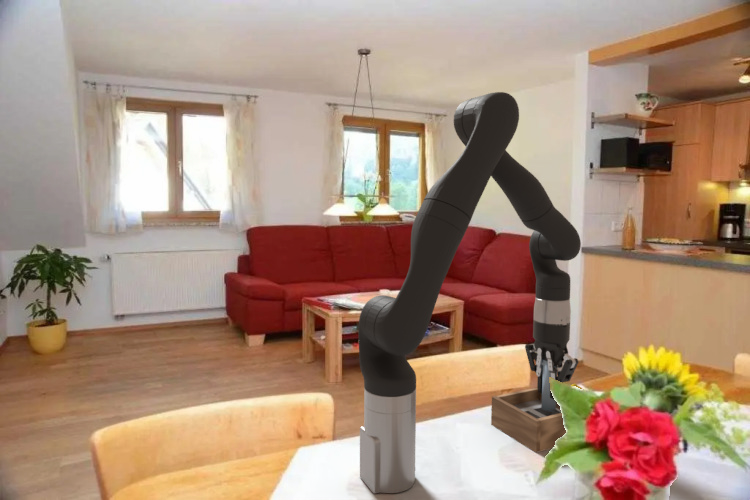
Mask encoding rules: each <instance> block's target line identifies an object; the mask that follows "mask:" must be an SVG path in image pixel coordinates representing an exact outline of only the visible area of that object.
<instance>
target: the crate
mask: <svg viewBox="0 0 750 500" xmlns="http://www.w3.org/2000/svg"><path fill="white" fill-rule="evenodd" d="M541 406H542V394H541V393H539V392H538V388H537V386H536V387H533V388H526V389H522V390H518V391H512V392H507V393H504V394H499V395H494V396H491V412H490V413H491V417H490V419H491V420H490V425H491V426H493V427H494V428H496V429H498V430H499V431H501V432H502V433H504V434H505V435H507V436H509V437H510V438H512V439H514V440H515V441H516V442H518V443H519V444H522V445H523V446H525V447H526V448H528V449H530V450H531V451H533V452H534V453H536V454H537V453H540V452H544V451H547V450H550V449H553V448H552V447H554V445H555V441H556V440H557V439H558V438H560V437H562V436H563V435H564V434H565V433H566V430H565V428H564V425H563V418H562V413H561V410H560V406H559V405H558V404H557V402H556V410H555V411H552V412H549V411H545V410H543V409H542V408H541Z"/></svg>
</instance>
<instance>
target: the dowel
mask: <svg viewBox="0 0 750 500" xmlns="http://www.w3.org/2000/svg"><path fill="white" fill-rule="evenodd" d="M555 367H557V366H554V368H555ZM556 376H558V374H557V372H556ZM549 377H551V373H550V372H549V370H548V362H547V361H545V360H543V377H542V406H541V408H542V409H543V410H545V411H549V412H552V411H555V410H556V401H555V400H554V399H552V398H550V383H549Z"/></svg>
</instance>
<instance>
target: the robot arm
mask: <svg viewBox="0 0 750 500" xmlns="http://www.w3.org/2000/svg"><path fill="white" fill-rule="evenodd" d="M519 120H520V109H519V105H518V102H517V101H516V98H515V97H514V96H513V95H511V94H510V93H508V92H504V91H498V92H497V91H496V92H490V93H489V92H488V93H486V94H482V95H479V96H475V97H472V98H469V99H467V100H465V101H462V102H461V103H460V104H459V105H458V106H457V108H456V109H455V110H454V114H453V127H454V131H455V132H456V135H457V137H458V138H459V140H460V141H461V143H462V144H463V146H465V147H464V149H463V151H462V152H461V154H460V156H458V158H457V159H456V160H455V161H454V163H453V164H451V166H450V167H449V168H448V169H447V170H446V171H445V172H444V173H443V174H442V175H441V176H440V177H439V178H438V179H437V180H436V181H435V183H433V185H432V186H431V187H430V188H429V190H428V192H427V193H426V195H425V197H424V198H423V201H422V203H421V205H420V207H419V209H418V212H417V214H416V216H415V218H414V221H413V223H412V226H411V227H412V228H411V231H410V232H411V233H410V234H411V235H410V263H409V267H408V271H407V274H406V277H405V279H404V281H403V283H402V285H401V288H400V290H399V292H398V294H397V295H396V297H393V296H389V295H383V294H382V295H376V296H374V297H372V298H370V299H369V300H367V302H366V303H365V304H364V306H363V307H362V309H361V312H360V315H359V320H358V327H357V328H358V329H357V331H358V332H357V333H358V355H359V357H358V358H359V368H360V372H361V374H362V377H363V384H364V385H363V387H364V388H363V391H364V393H363V396H364V397H363V398H364V401H363V403H364V404H363V409H364V411H363V412H364V413H363V415H364V416H363V420H364V421H363V425H362V426H360V428H359V478H360V479H361V480H362V481H363V482H364V483H365V485H366V486H367V487H368V488H369V489H370V491H371V492H372V493H373V494H377V493H379V494H380V493H382V494H383V493H384V494H399V493H402V492H405V491H407V490H409V489H411V488H412V487H413V486H414V484H415V482H416V433H417V431H416V430H417V429H416V428H417V427H416V425H417V424H416V420H417V417H416V416H417V415H416V414H417V375H416V372H415V370H414V369H413V367H412V365H410V363H409V361H408V359H407V357H406V356H408V355H410V354H411V353H413V352H415V350H416V349H418V347H419V346H420V344H421V343H422V341H423V339H424V337H425V335H426V333H427V330H428V327H429V325H430V321H431V319H432V316H433V312H434V309H435V306H436V303H437V301H438V297H439V294H440V291H441V289H442V286H443V284H444V280H445V279H446V277H447V274H448V272H449V269H450V267H451V265H452V262H453V260H454V257H455V255H456V252H457V250H458V249H459V246H460V244H461V242H462V240H463V238H464V237H465V234H466V232H467V229H468V228H469V225H470V223H471V222H472V218H473V216H474V214H475V210H476V208H477V206H478V204H479V202H480V199H481V198H482V195H483V193H484V191H485V189H486V188H487V185H488V182H489V181H490V178H492V179H493V180H494V182H495V183H496V184H497V185H498V186H499V188H500V189H501V190H502V192H503V193H504V195H505V196H506V198H507V200H508V201H509V202H510V204H511V206H512V207H513V209H514V211H515V212H516V214H517V216H518V217H519V219H520V221H521V223H522V224H523V226H525V227H526V228H527V229H529V230H532V231H533V232H532V233H531V235H530V239H529V244H528V247H529V248H528V249H529V255H530V260H531V263H532V267H533V271H534V274H535V279H536V280H535V301H534V304H533V327H532V329H533V330H532V338H533V339H534V340H535V341H534V342H533V343H529V344H525V346H524V349H525V353H526V357H527V360H528V364H529V367H530V371H531V372H534V373H535V374H536V376H537V385H536V387H537V388H538V392H539V393H541V394H542V377H543V360H545V361H547V362H548V370H549V372H550V373H551V377H552V378H554V379H555V380H558V381H560V382H562V384H563V383H566V382H570V381H571V379H572V377H573V375H574V373H575V371H576V368H577V367H578V364H579V359H578V358H573V357H572V356H571V355H569V349H568V347H567V346H568V344H569V343H568V342H569V341H570V340H571V338H570V336H571V316H572V315H571V312H572V311H571V299H570V298H571V276H570V274H569V273H568V272H566V271H564V270H562V269H560V268H559V266H558V264H557V261H563V262H567V261H571V260H573V259H575V258H576V257H577V256H578V255H579V254H580V251H581V247H582V243H581V238H580V235H579V232H578V230H577V229H576V228H575V226H574V225H573V224H572V223H571V221H569V220H568V219H567V217H565V216H564V215H563V213H561V211H559V210H558V209H557V208H556V207H555V206H554V204H553V202H552V200H551V198H550V197H549V195H548V193H547V191H546V189H545V187H544V186H543V185H542V183H541V182H540V181H539V179H538V178H537V177H536V176H535V175H534V174H533V173H532V172H530V171H529V169H527V168H525V166H523V165H522V164H521V163H519V162H518V161H517V160H516V159H515V158H514V157H513V156H511V154H510V153H509V152H508V151H507V148H508V147H509V145H510V143H511V141H512V140H513V138H514V136H515V133H516V131H517V129H518V125H519V122H520V121H519ZM554 366H557V367H555V368H554ZM556 372H557V376H556ZM550 398H552V399H554V398H553V396H552V393H551V391H550Z"/></svg>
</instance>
